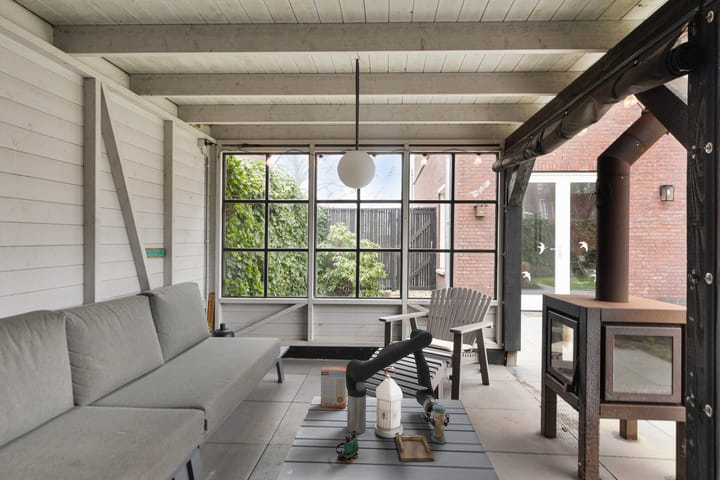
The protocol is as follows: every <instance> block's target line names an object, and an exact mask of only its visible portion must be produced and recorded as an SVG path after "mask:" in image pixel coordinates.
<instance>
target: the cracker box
mask: <svg viewBox="0 0 720 480" xmlns="http://www.w3.org/2000/svg"><path fill="white" fill-rule="evenodd" d="M347 405H348V391H347V388H346V367H339V366H337V367H336V366H335V367H333V366H322V368H321V371H320V407H321V408H336V409H346V407H347Z"/></svg>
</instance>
